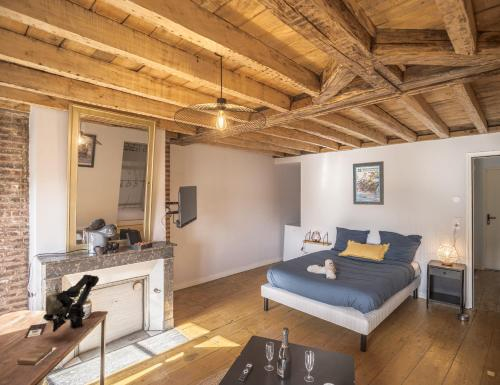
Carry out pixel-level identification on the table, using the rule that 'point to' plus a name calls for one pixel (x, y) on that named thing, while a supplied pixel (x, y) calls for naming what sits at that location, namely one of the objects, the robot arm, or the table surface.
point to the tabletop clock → (52, 302)
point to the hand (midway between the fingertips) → (53, 331)
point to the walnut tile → (34, 355)
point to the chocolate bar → (35, 330)
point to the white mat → (46, 355)
